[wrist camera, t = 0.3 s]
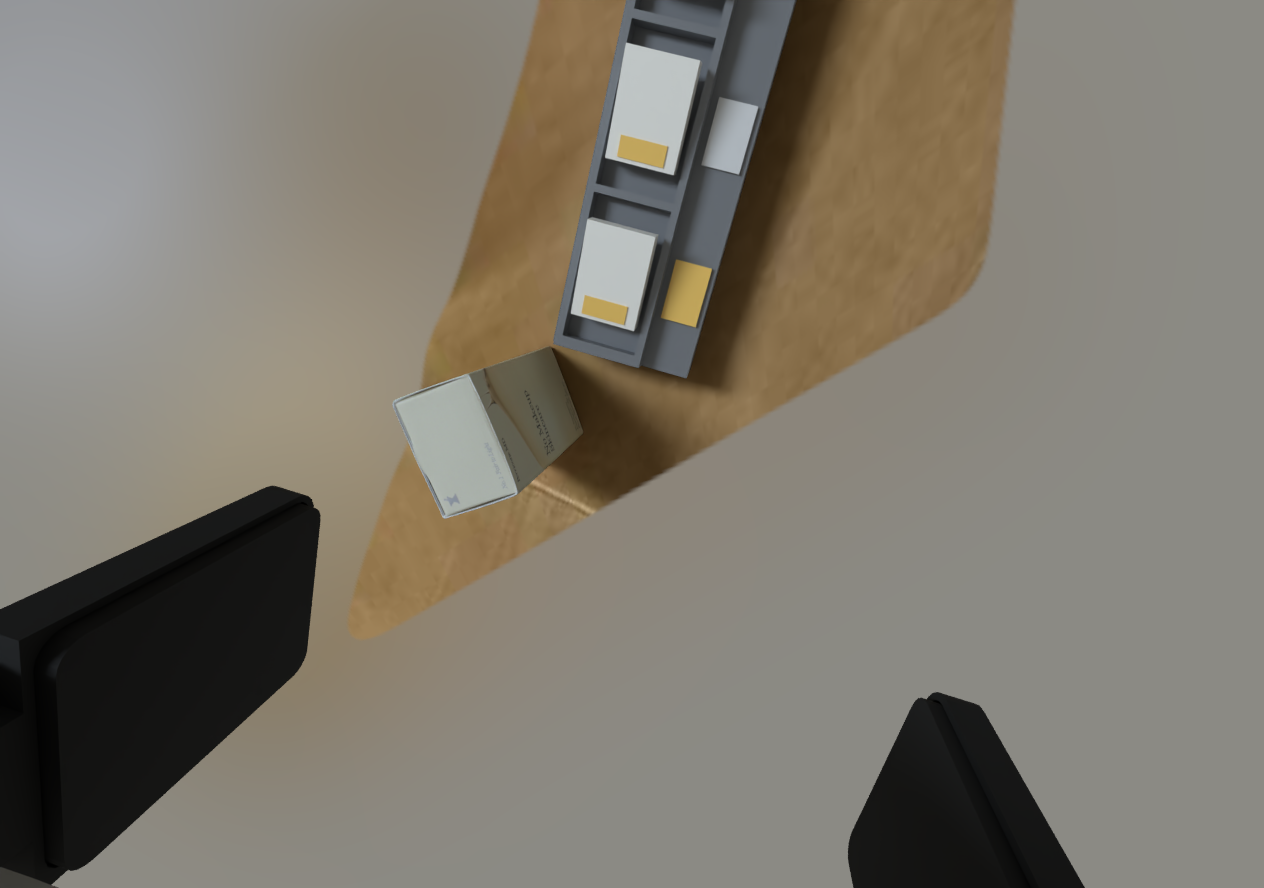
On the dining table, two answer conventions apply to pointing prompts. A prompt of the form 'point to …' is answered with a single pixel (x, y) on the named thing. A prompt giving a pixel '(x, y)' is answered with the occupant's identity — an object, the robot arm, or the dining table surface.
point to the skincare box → (489, 430)
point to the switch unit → (681, 173)
